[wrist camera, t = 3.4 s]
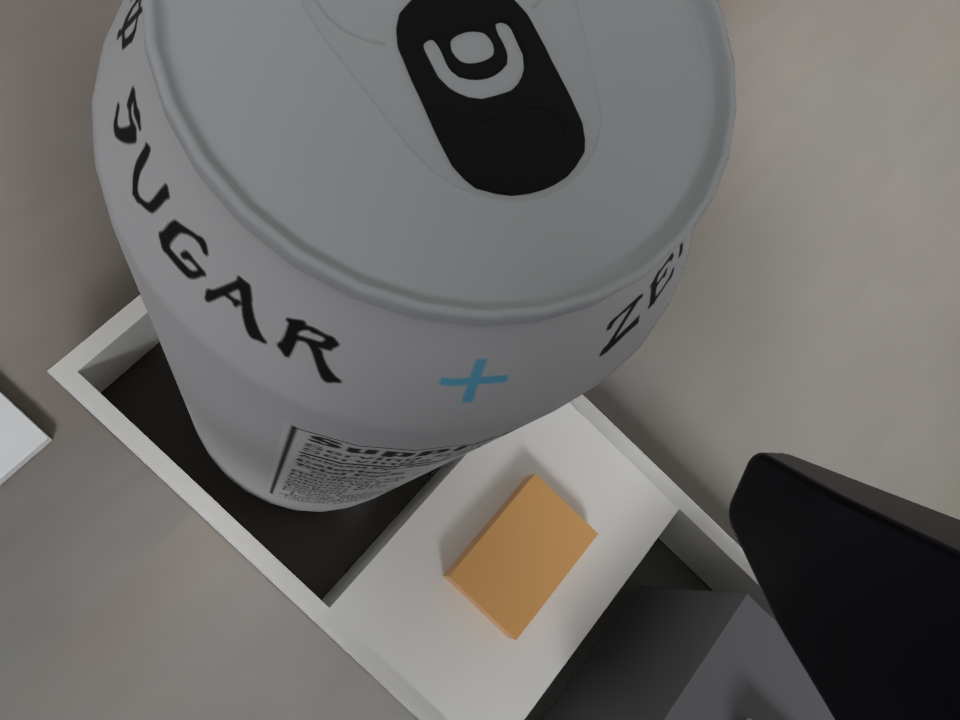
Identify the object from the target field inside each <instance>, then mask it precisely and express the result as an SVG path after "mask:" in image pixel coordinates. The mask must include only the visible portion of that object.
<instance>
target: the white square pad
mask: <svg viewBox="0 0 960 720" xmlns="http://www.w3.org/2000/svg"><path fill="white" fill-rule="evenodd" d="M51 441H52V439H51V438H50V437H49V436H48V435H47V434H46V433H44V432H43V431H42V430H41V429H40V428H39V427H38V426H37V425H36V424H35V423H34V422H33V421H32V420H30V419H29V418H28V417H27V416H26V415H25V414H24V413H23V412H22V411H21V410H20V409H19V408H18V407H17V406H15V405H14V404H13V403H12V402H11V401H10V400H9V399H8V398H7V397H6V396H5V395H4V394H3V393H2V392H0V485H1V484H2V483H4V482H5V481H6V480H7V479H8V478H9V477H10V476H12V475H13V474H14V473H15V472H16V471H17V470H19V469H20V468H21V467H22V466H23V465H24V464H25V463H27V462H28V461H29V460H30V459H31V458H32V457H34V456H35V455H36V454H37V453H38V452H39V451H41V450H42V449H43V448H44V447H45V446H46V445H47V444H49V443H50V442H51Z"/></svg>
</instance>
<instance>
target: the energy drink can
mask: <svg viewBox="0 0 960 720" xmlns="http://www.w3.org/2000/svg"><path fill="white" fill-rule="evenodd" d="M91 108H92V126H93V144H94V163H95V168H96V171H97V175H98V178H99V182H100V185H101V189H102V192H103V195H104V199H105V202H106V206H107V209H108V213H109V216H110V220H111V223H112V227H113V229H114V231H115V234H116V236H117V239H118V241H119V244H120V246H121V248H122V251H123V253H124V256H125V258H126V261H127V263H128V266H129V268H130V270H131V273H132V275H133V278H134V280H135V283H136V285H137V287H138V290H139V292H140V295H141V297H142V300H143V302H144V305H145V307H146V309H147V312H148V314H149V317H150V319H151V322H152V324H153V326H154V329H155V331H156V334H157V336H158V339H159V341H160V343H161V346H162V348H163V351H164V353H165V356H166V358H167V361H168V363H169V365H170V368H171V370H172V373H173V375H174V378H175V380H176V382H177V385H178V387H179V390H180V392H181V395H182V397H183V400H184V402H185V404H186V407H187V409H188V412H189V414H190V417H191V419H192V421H193V424H194V426H195V429H196V431H197V434H198V436H199V438H200V439H201V441H202V443H203V445H204V447H205V449H206V450H207V452H208V454H209V456H210V457H211V459H212V460H213V461H214V462H215V463H216V464H217V466H218V467H219V468H220V469H221V470H222V472H223V473H224V474H225V475H226V476H227V477H228V478H229V479H231V480H232V481H233V482H235V483H236V484H237V485H238V486H240V487H241V488H242V489H244V490H245V491H246V492H248V493H250V494H252V495H254V496H256V497H258V498H260V499H262V500H264V501H266V502H268V503H270V504H273V505H277V506H281V507H285V508H289V509H292V510H298V511H315V512H324V511H331V510H339V509H346V508H349V507H352V506H355V505H358V504H361V503H364V502H367V501H369V500H372V499H374V498H376V497H378V496H380V495H382V494H384V493H386V492H388V491H390V490H392V489H394V488H396V487H399V486H401V485H403V484H405V483H407V482H409V481H411V480H413V479H415V478H417V477H419V476H421V475H423V474H425V473H427V472H430V471H432V470H434V469H436V468H438V467H440V466H442V465H444V464H446V463H448V462H450V461H452V460H454V459H456V458H458V457H461V456H463V455H465V454H467V453H469V452H471V451H473V450H475V449H477V448H479V447H481V446H483V445H485V444H487V443H489V442H491V441H494V440H496V439H498V438H500V437H502V436H504V435H506V434H508V433H510V432H512V431H514V430H516V429H518V428H520V427H522V426H525V425H527V424H529V423H531V422H533V421H535V420H537V419H539V418H541V417H543V416H545V415H547V414H549V413H551V412H553V411H555V410H557V409H559V408H560V407H562V406H564V405H565V404H567V403H569V402H570V401H572V400H574V399H575V398H577V397H579V396H580V395H582V394H584V393H585V392H587V391H589V390H591V389H592V388H594V387H596V386H597V385H599V384H601V383H602V382H603V381H604V380H605V379H606V378H607V377H608V376H609V375H611V374H612V373H613V372H614V371H615V370H616V369H617V368H618V367H619V366H620V365H621V364H622V363H623V362H624V361H625V360H627V359H628V358H629V357H630V356H631V355H632V354H633V353H634V352H635V351H636V350H637V349H638V348H639V347H640V346H641V345H642V343H643V342H644V340H645V339H646V337H647V336H648V334H649V333H650V331H651V330H652V328H653V327H654V326H655V324H656V323H657V321H658V320H659V318H660V317H661V315H662V314H663V312H664V311H665V309H666V308H667V306H668V305H669V303H670V300H671V298H672V295H673V293H674V290H675V288H676V285H677V283H678V280H679V278H680V275H681V273H682V270H683V268H684V265H685V263H686V260H687V257H688V254H689V249H690V243H691V237H692V231H693V227H694V226H695V224H696V223H697V221H698V220H699V219H700V217H701V216H702V214H703V213H704V211H705V210H706V208H707V207H708V206H709V204H710V203H711V201H712V198H713V195H714V193H715V190H716V188H717V185H718V183H719V180H720V178H721V175H722V173H723V170H724V168H725V165H726V163H727V160H728V157H729V151H730V145H731V138H732V132H733V126H734V120H735V113H736V95H735V72H734V59H733V55H732V51H731V47H730V42H729V38H728V34H727V29H726V25H725V21H724V17H723V13H722V11H721V9H720V6H719V4H718V1H717V0H123V1H122V4H121V6H120V8H119V10H118V12H117V14H116V17H115V19H114V21H113V23H112V25H111V28H110V30H109V32H108V34H107V36H106V39H105V41H104V43H103V45H102V49H101V55H100V60H99V65H98V71H97V76H96V81H95V86H94V92H93V97H92V102H91Z"/></svg>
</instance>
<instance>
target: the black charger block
mask: <svg viewBox="0 0 960 720" xmlns="http://www.w3.org/2000/svg"><path fill="white" fill-rule="evenodd" d="M543 720H835V719H834V717H833V716H832V714H831V712H830V711H829V709H828V707H827V706H826V704H825V702H824V701H823V699H822V697H821V696H820V694H819V692H818V691H817V689H816V687H815V686H814V684H813V682H812V681H811V679H810V677H809V676H808V674H807V672H806V671H805V669H804V667H803V666H802V664H801V662H800V661H799V659H798V657H797V656H796V654H795V652H794V651H793V649H792V647H791V646H790V644H789V642H788V640H787V639H786V637H785V635H784V634H783V632H782V630H781V628H780V627H779V625H778V623H777V622H776V621H775V620H774V619H773V618H772V617H771V616H770V615H769V614H768V613H767V612H766V611H765V610H764V609H763V608H762V607H760V606H759V605H758V604H757V603H756V602H755V601H754V600H753V599H752V598H751V597H750V596H749V595H748V594H742V593H729V592H715V591H701V590H688V589H674V588H660V587H647V586H640V587H639V588H638V589H637V591H636V592H635V594H634V595H633V596H632V598H631V599H630V600H629V602H628V603H627V605H626V606H625V607H624V609H623V610H622V611H621V613H620V614H619V616H618V617H617V618H616V620H615V621H614V622H613V624H612V625H611V627H610V628H609V629H608V631H607V632H606V633H605V635H604V636H603V638H602V639H601V640H600V642H599V643H598V644H597V646H596V647H595V649H594V650H593V651H592V653H591V654H590V655H589V657H588V658H587V660H586V661H585V662H584V664H583V665H582V666H581V668H580V669H579V671H578V672H577V673H576V675H575V676H574V677H573V679H572V680H571V681H570V683H569V684H568V686H567V687H566V688H565V690H564V691H563V692H562V694H561V695H560V697H559V698H558V699H557V701H556V702H555V703H554V705H553V706H552V708H551V709H550V710H549V712H548V713H547V714H546V716H545V717H544V719H543Z"/></svg>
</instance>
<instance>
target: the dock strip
mask: <svg viewBox="0 0 960 720" xmlns="http://www.w3.org/2000/svg"><path fill="white" fill-rule="evenodd" d="M159 342H160V341H159V339H158V336H157V334H156V331H155V329H154V326H153V324H152V322H151V319H150V317H149V314H148V312H147V309H146V307H145V305H144V302H143V300H142V297H141V295H139V296H138V297H136V298H135V299H134V300H133V301H132V302H130V303H129V304H128V305H127V306H125V307H124V308H123V309H122V310H121V311H119V312H118V313H117V314H116V315H115V316H113V317H112V318H111V319H110V320H109V321H107V322H106V323H105V324H104V325H102V326H101V327H100V328H99V329H98V330H96V331H95V332H94V333H93V334H92V335H90V336H89V337H88V338H87V339H86V340H84V341H83V342H82V343H81V344H79V345H78V346H77V347H76V348H75V349H73V350H72V351H71V352H70V353H69V354H67V355H66V356H65V357H64V358H63V359H61V360H60V361H59V362H58V363H57V364H55V365H54V366H53V367H52V368H50V369H49V370H48V371H47V372H48V373H49V374H50V375H51V376H52V377H53V378H54V379H56V380H57V381H58V382H59V383H60V384H61V385H62V386H63V387H64V388H65V389H66V390H67V391H68V392H69V393H71V394H72V395H73V396H74V397H75V398H76V399H77V400H78V401H79V402H80V403H81V404H82V405H83V406H84V407H85V408H87V409H88V410H89V411H90V412H91V413H92V414H93V415H94V416H95V417H96V418H97V419H98V420H99V421H100V422H101V423H103V424H104V425H105V426H106V427H107V428H108V429H109V430H110V431H111V432H112V433H113V434H114V435H115V436H116V437H118V438H119V439H120V440H121V441H122V442H123V443H124V444H125V445H126V446H127V447H128V448H129V449H130V450H131V451H132V452H134V453H135V454H136V455H137V456H138V457H139V458H140V459H141V460H142V461H143V462H144V463H145V464H146V465H147V466H149V467H150V468H151V469H152V470H153V471H154V472H155V473H156V474H157V475H158V476H159V477H160V478H161V479H162V480H163V481H165V482H166V483H167V484H168V485H169V486H170V487H171V488H172V489H173V490H174V491H175V492H176V493H177V494H178V495H179V496H181V497H182V498H183V499H184V500H185V501H186V502H187V503H188V504H189V505H190V506H191V507H192V508H193V509H194V510H196V511H197V512H198V513H199V514H200V515H201V516H202V517H203V518H204V519H205V520H206V521H207V522H208V523H209V524H210V525H212V526H213V527H214V528H215V529H216V530H217V531H218V532H219V533H220V534H221V535H222V536H223V537H224V538H225V539H227V540H228V541H229V542H230V543H231V544H232V545H233V546H234V547H235V548H236V549H237V550H238V551H239V552H240V553H241V554H243V555H244V556H245V557H246V558H247V559H248V560H249V561H250V562H251V563H252V564H253V565H254V566H255V567H256V568H257V569H259V570H260V571H261V572H262V573H263V574H264V575H265V576H266V577H267V578H268V579H269V580H270V581H271V582H272V583H274V584H275V585H276V586H277V587H278V588H279V589H280V590H281V591H282V592H283V593H284V594H285V595H286V596H287V597H288V598H290V599H291V600H292V601H293V602H294V603H295V604H296V605H297V606H298V607H299V608H300V609H301V610H302V611H303V612H304V613H306V614H307V615H308V616H309V617H310V618H311V619H312V620H313V621H314V622H315V623H316V624H317V625H318V626H319V627H321V628H322V629H323V630H324V631H325V632H326V633H327V634H328V635H329V636H330V637H331V638H332V639H333V640H334V641H335V642H337V643H338V644H339V645H340V646H341V647H342V648H343V649H344V650H345V651H346V652H347V653H348V654H349V655H350V656H352V657H353V658H354V659H355V660H356V661H357V662H358V663H359V664H360V665H361V666H362V667H363V668H364V669H365V670H366V671H368V672H369V673H370V674H371V675H372V676H373V677H374V678H375V679H376V680H377V681H378V682H379V683H380V684H381V685H382V686H384V687H385V688H386V689H387V690H388V691H389V692H390V693H391V694H392V695H393V696H394V697H395V698H396V699H397V700H399V701H400V702H401V703H402V704H403V705H404V706H405V707H406V708H407V709H408V710H409V711H410V712H411V713H412V714H413V715H415V716H416V717H417V718H418V719H419V720H524V719H525V718H526V717H527V715H528V714H529V713H530V711H531V710H532V709H533V707H534V706H535V704H536V703H537V702H538V700H539V699H540V698H541V696H542V695H543V694H544V692H545V691H546V690H547V688H548V687H549V685H550V684H551V683H552V681H553V680H554V679H555V677H556V676H557V675H558V673H559V672H560V670H561V669H562V668H563V666H564V665H565V664H566V662H567V661H568V660H569V658H570V657H571V655H572V654H573V653H574V651H575V650H576V649H577V647H578V646H579V645H580V643H581V642H582V641H583V639H584V638H585V636H586V635H587V634H588V632H589V631H590V630H591V628H592V627H593V626H594V624H595V623H596V621H597V620H598V619H599V617H600V616H601V615H602V613H603V612H604V611H605V609H606V608H607V606H608V605H609V604H610V602H611V601H612V600H613V598H614V597H615V596H616V594H617V593H618V591H619V590H620V589H621V587H622V586H623V585H624V583H625V582H626V581H627V579H628V578H629V577H630V575H631V574H632V572H633V571H634V570H635V568H636V567H637V566H638V564H639V563H640V562H641V560H642V559H643V557H644V556H645V555H646V553H647V552H648V551H649V549H650V548H651V547H652V545H653V544H654V542H655V541H656V540H657V538H659V539H660V540H661V541H662V542H663V543H664V544H665V545H666V546H667V547H668V548H669V549H670V550H671V551H672V552H674V553H675V554H676V555H677V556H678V557H679V558H680V559H681V560H682V561H683V562H684V563H685V564H686V565H687V566H688V567H689V568H690V569H691V570H692V571H693V572H694V573H695V574H696V575H697V576H698V577H700V578H701V579H702V580H703V581H704V582H705V583H706V584H707V585H708V586H709V587H710V588H711V589H712V590H713V591H715V592H729V593H742V594H748V595H749V596H750V597H751V598H752V599H753V600H754V601H755V602H756V603H757V604H758V605H759V606H760V607H762V608H763V609H764V610H765V611H766V612H767V613H768V614H769V615H770V616H771V617H772V618H773V619H774V620H775V621H776V619H775V618H774V616H773V614H772V612H771V610H770V608H769V606H768V604H767V601H766V599H765V597H764V595H763V593H762V591H761V589H760V586H759V584H758V582H757V580H756V578H755V576H754V574H753V571H752V569H751V567H750V565H749V563H748V561H747V559H746V556H745V554H744V552H743V550H742V548H741V547H740V546H739V545H738V544H737V543H736V542H735V541H734V540H733V539H732V538H731V537H730V536H729V535H728V534H727V533H726V532H725V531H724V530H723V529H722V528H720V527H719V526H718V525H717V524H716V523H715V522H714V521H713V520H712V519H711V518H710V517H709V516H708V515H707V514H706V513H705V512H704V511H703V510H702V509H701V508H700V507H699V506H698V505H697V504H696V503H695V502H694V501H693V500H692V499H690V498H689V497H688V496H687V495H686V494H685V493H684V492H683V491H682V490H681V489H680V488H679V487H678V486H677V485H676V484H675V483H674V482H673V481H672V480H671V479H670V478H669V477H668V476H667V475H666V474H665V473H664V472H663V471H661V470H660V469H659V468H658V467H657V466H656V465H655V464H654V463H653V462H652V461H651V460H650V459H649V458H648V457H647V456H646V455H645V454H644V453H643V452H642V451H641V450H640V449H639V448H638V447H637V446H636V445H635V444H634V443H632V442H631V441H630V440H629V439H628V438H627V437H626V436H625V435H624V434H623V433H622V432H621V431H620V430H619V429H618V428H617V427H616V426H615V425H614V424H613V423H612V422H611V421H610V420H609V419H608V418H607V417H606V416H605V415H604V414H602V413H601V412H600V411H599V410H598V409H597V408H596V407H595V406H594V405H593V404H592V403H591V402H590V401H589V400H588V399H587V398H586V397H585V396H584V395H583V394H582V395H580V396H579V397H577V398H575V399H574V400H572V401H570V402H569V403H567V404H565V405H564V406H562V407H560V408H559V409H557V410H555V411H553V412H551V413H549V414H547V415H545V416H543V417H541V418H539V419H537V420H535V421H533V422H531V423H529V424H527V425H525V426H522V427H520V428H518V429H516V430H514V431H512V432H510V433H508V434H506V435H504V436H502V437H500V438H498V439H496V440H494V441H491V442H489V443H487V444H485V445H483V446H481V447H479V448H477V449H475V450H473V451H471V452H469V453H467V454H465V455H463V456H461V457H458V458H456V459H454V460H452V461H450V462H448V463H446V464H444V465H442V467H441V468H440V469H439V470H438V471H437V472H436V473H435V474H434V475H433V477H432V478H431V479H430V480H429V481H428V482H427V483H426V484H425V485H424V487H423V488H422V489H421V490H420V491H419V492H418V493H417V494H416V495H415V497H414V498H413V499H412V500H411V501H410V502H409V503H408V504H407V505H406V507H405V508H404V509H403V510H402V511H401V512H400V513H399V514H398V515H397V517H396V518H395V519H394V520H393V521H392V522H391V523H390V524H389V525H388V527H387V528H386V529H385V530H384V531H383V532H382V533H381V534H380V535H379V537H378V538H377V539H376V540H375V541H374V542H373V543H372V544H371V546H370V547H369V548H368V549H367V550H366V551H365V552H364V553H363V554H362V556H361V557H360V558H359V559H358V560H357V561H356V562H355V563H354V564H353V566H352V567H351V568H350V569H349V570H348V571H347V572H346V573H345V574H344V576H343V577H342V578H341V579H340V580H339V581H338V582H337V583H336V584H335V586H334V587H333V588H332V589H331V590H330V591H329V592H328V593H327V594H326V596H325V597H324V598H323V599H322V600H320V599H319V598H318V597H317V596H316V595H315V594H314V593H313V592H312V591H311V590H310V589H309V588H308V587H306V586H305V585H304V584H303V583H302V582H301V581H300V580H299V579H298V578H297V577H296V576H295V575H294V574H293V573H292V572H290V571H289V570H288V569H287V568H286V567H285V566H284V565H283V564H282V563H281V562H280V561H279V560H278V559H277V558H276V557H274V556H273V555H272V554H271V553H270V552H269V551H268V550H267V549H266V548H265V547H264V546H263V545H262V544H261V543H260V542H259V541H257V540H256V539H255V538H254V537H253V536H252V535H251V534H250V533H249V532H248V531H247V530H246V529H245V528H244V527H243V526H241V525H240V524H239V523H238V522H237V521H236V520H235V519H234V518H233V517H232V516H231V515H230V514H229V513H228V512H227V511H225V510H224V509H223V508H222V507H221V506H220V505H219V504H218V503H217V502H216V501H215V500H214V499H213V498H212V497H211V496H209V495H208V494H207V493H206V492H205V491H204V490H203V489H202V488H201V487H200V486H199V485H198V484H197V483H196V482H195V481H193V480H192V479H191V478H190V477H189V476H188V475H187V474H186V473H185V472H184V471H183V470H182V469H181V468H180V467H179V466H177V465H176V464H175V463H174V462H173V461H172V460H171V459H170V458H169V457H168V456H167V455H166V454H165V453H164V452H163V451H161V450H160V449H159V448H158V447H157V446H156V445H155V444H154V443H153V442H152V441H151V440H150V439H149V438H148V437H147V436H145V435H144V434H143V433H142V432H141V431H140V430H139V429H138V428H137V427H136V426H135V425H134V424H133V423H132V422H131V421H129V420H128V419H127V418H126V417H125V416H124V415H123V414H122V413H121V412H120V411H119V410H118V409H117V408H116V407H115V406H113V405H112V404H111V403H110V402H109V401H108V400H107V399H106V398H105V397H104V396H103V395H102V394H101V392H102V391H103V390H104V389H106V388H107V387H108V386H109V385H110V384H111V383H113V382H114V381H115V380H116V379H117V378H118V377H120V376H121V375H122V374H123V373H124V372H125V371H127V370H128V369H129V368H130V367H131V366H132V365H133V364H135V363H136V362H137V361H138V360H139V359H140V358H142V357H143V356H144V355H145V354H146V353H147V352H149V351H150V350H151V349H152V348H153V347H154V346H155V345H157V344H158V343H159ZM776 622H777V621H776Z"/></svg>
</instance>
